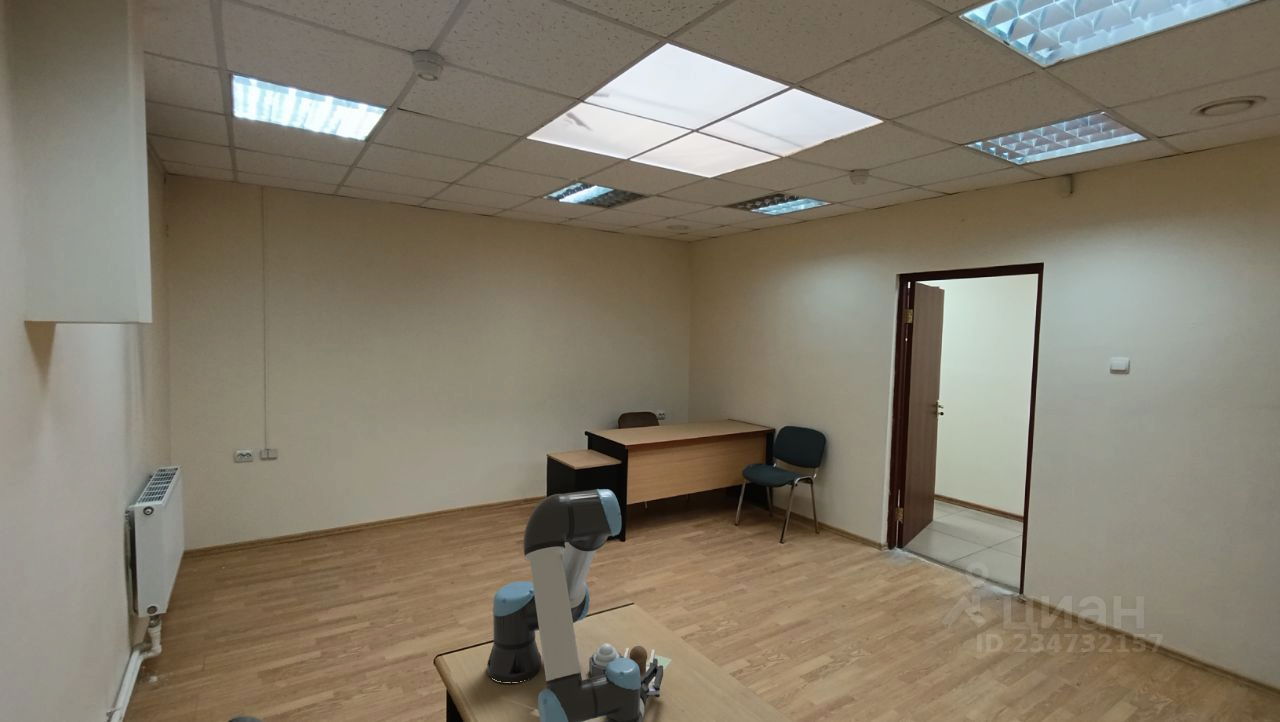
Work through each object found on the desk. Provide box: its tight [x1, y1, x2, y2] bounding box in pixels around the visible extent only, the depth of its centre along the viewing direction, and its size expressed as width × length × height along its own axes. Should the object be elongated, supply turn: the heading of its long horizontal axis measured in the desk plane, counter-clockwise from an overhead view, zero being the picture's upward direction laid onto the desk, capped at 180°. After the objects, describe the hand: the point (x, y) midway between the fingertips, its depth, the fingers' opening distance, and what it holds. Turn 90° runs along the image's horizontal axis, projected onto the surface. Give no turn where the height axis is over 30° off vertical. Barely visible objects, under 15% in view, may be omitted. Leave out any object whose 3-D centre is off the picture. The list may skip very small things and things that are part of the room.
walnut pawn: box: [629, 645, 649, 687], centre depth 153 cm, size 6×6×11 cm
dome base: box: [588, 651, 622, 678], centre depth 160 cm, size 9×9×4 cm
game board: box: [646, 654, 673, 689], centre depth 159 cm, size 9×20×1 cm, turn 153°
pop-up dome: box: [593, 642, 619, 668], centre depth 160 cm, size 7×7×6 cm
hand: (640, 653), depth 158 cm, fingers open, 6 cm apart
